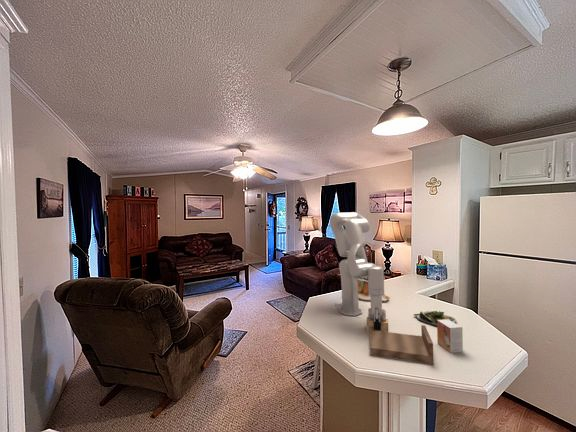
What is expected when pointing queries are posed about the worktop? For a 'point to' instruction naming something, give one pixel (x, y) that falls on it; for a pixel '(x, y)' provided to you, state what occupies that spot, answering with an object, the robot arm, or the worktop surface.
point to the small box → (450, 336)
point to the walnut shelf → (403, 346)
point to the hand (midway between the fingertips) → (377, 326)
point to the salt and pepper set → (382, 319)
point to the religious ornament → (366, 291)
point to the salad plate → (433, 317)
